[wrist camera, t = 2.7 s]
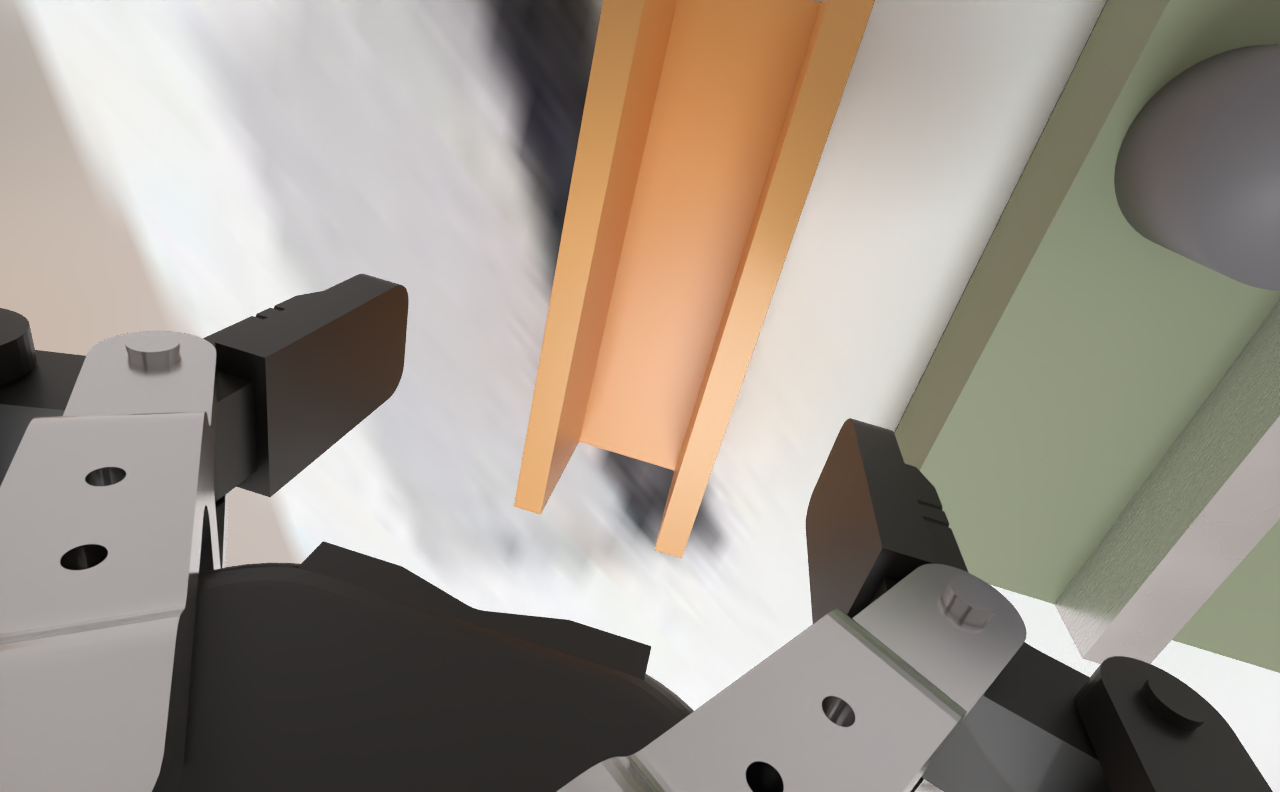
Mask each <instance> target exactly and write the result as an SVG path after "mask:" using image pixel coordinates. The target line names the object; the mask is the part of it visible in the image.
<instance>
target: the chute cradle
mask: <svg viewBox="0 0 1280 792" xmlns="http://www.w3.org/2000/svg"><path fill="white" fill-rule="evenodd" d="M1279 519H1280V299H1279V301H1278V302H1277V304H1276V305H1275V306H1274V308H1273V309H1272V310H1271V312H1270V313H1269V314H1268V316H1267V317H1266V318H1265V320H1264V321H1263V322H1262V324H1261V325H1260V327H1259V328H1258V329H1257V331H1256V332H1255V333H1254V335H1253V336H1252V337H1251V339H1250V340H1249V341H1248V343H1247V344H1246V345H1245V347H1244V348H1243V350H1242V351H1241V352H1240V354H1239V355H1238V356H1237V358H1236V359H1235V360H1234V362H1233V363H1232V364H1231V366H1230V367H1229V368H1228V370H1227V371H1226V373H1225V374H1224V375H1223V377H1222V378H1221V379H1220V381H1219V382H1218V383H1217V385H1216V386H1215V387H1214V389H1213V390H1212V391H1211V393H1210V394H1209V396H1208V397H1207V398H1206V400H1205V401H1204V402H1203V404H1202V405H1201V406H1200V408H1199V409H1198V410H1197V412H1196V413H1195V414H1194V416H1193V417H1192V418H1191V420H1190V421H1189V423H1188V424H1187V425H1186V427H1185V428H1184V429H1183V431H1182V432H1181V433H1180V435H1179V436H1178V437H1177V439H1176V440H1175V441H1174V443H1173V444H1172V446H1171V447H1170V448H1169V450H1168V451H1167V452H1166V454H1165V455H1164V456H1163V458H1162V459H1161V460H1160V462H1159V463H1158V464H1157V466H1156V467H1155V469H1154V470H1153V471H1152V473H1151V474H1150V475H1149V477H1148V478H1147V479H1146V481H1145V482H1144V483H1143V485H1142V486H1141V487H1140V489H1139V490H1138V492H1137V493H1136V494H1135V496H1134V497H1133V498H1132V500H1131V501H1130V502H1129V504H1128V505H1127V506H1126V508H1125V509H1124V510H1123V512H1122V513H1121V515H1120V516H1119V517H1118V519H1117V520H1116V521H1115V523H1114V524H1113V525H1112V527H1111V528H1110V529H1109V531H1108V532H1107V533H1106V535H1105V536H1104V537H1103V539H1102V540H1101V542H1100V543H1099V544H1098V546H1097V547H1096V548H1095V550H1094V551H1093V552H1092V554H1091V555H1090V556H1089V558H1088V559H1087V560H1086V562H1085V563H1084V565H1083V566H1082V567H1081V569H1080V570H1079V571H1078V573H1077V574H1076V575H1075V577H1074V578H1073V579H1072V581H1071V582H1070V583H1069V585H1068V586H1067V588H1066V589H1065V590H1064V592H1063V593H1062V594H1061V596H1060V597H1059V598H1058V600H1057V601H1056V602H1055V606H1056V608H1057V610H1058V612H1059V614H1060V616H1061V618H1062V620H1063V622H1064V624H1065V626H1066V627H1067V629H1068V631H1069V633H1070V635H1071V637H1072V639H1073V641H1074V643H1075V645H1076V647H1077V649H1078V651H1079V653H1080V654H1081V656H1082V658H1083V659H1086V660H1090V661H1093V662H1096V663H1099V664H1102V662H1103V661H1104V660H1106V659H1107V658H1109V657H1113V656H1124V657H1130V658H1134V659H1138V660H1141V661H1144V662H1146V663H1149V664H1151V662H1152V661H1153V660H1154V659H1155V658H1156V657H1157V656H1158V655H1159V653H1160V652H1161V651H1162V650H1163V649H1164V648H1165V647H1166V646H1167V644H1168V643H1169V642H1170V641H1171V640H1172V639H1173V638H1174V637H1175V635H1176V634H1177V633H1178V632H1179V631H1180V630H1181V629H1182V628H1183V626H1184V625H1185V624H1186V623H1187V622H1188V621H1189V620H1190V619H1191V617H1192V616H1193V615H1194V614H1195V613H1196V612H1197V611H1198V610H1199V608H1200V607H1201V606H1202V605H1203V604H1204V603H1205V602H1206V601H1207V599H1208V598H1209V597H1210V596H1211V595H1212V594H1213V593H1214V592H1215V590H1216V589H1217V588H1218V587H1219V586H1220V585H1221V584H1222V583H1223V582H1224V580H1225V579H1226V578H1227V577H1228V576H1229V575H1230V574H1231V573H1232V571H1233V570H1234V569H1235V568H1236V567H1237V566H1238V565H1239V564H1240V562H1241V561H1242V560H1243V559H1244V558H1245V557H1246V556H1247V555H1248V553H1249V552H1250V551H1251V550H1252V549H1253V548H1254V547H1255V546H1256V544H1257V543H1258V542H1259V541H1260V540H1261V539H1262V538H1263V537H1264V535H1265V534H1266V533H1267V532H1268V531H1269V530H1270V529H1271V528H1272V526H1273V525H1274V524H1275V523H1276V522H1277V521H1278V520H1279Z"/></svg>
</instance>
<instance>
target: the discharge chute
mask: <svg viewBox="0 0 1280 792" xmlns="http://www.w3.org/2000/svg"><path fill="white" fill-rule="evenodd" d="M874 2H875V0H823V1H822V2H821V3H820V2H816V1H812V0H603V5H602V10H601V16H600V22H599V27H598V33H597V39H596V44H595V50H594V56H593V61H592V67H591V73H590V78H589V84H588V90H587V95H586V101H585V107H584V112H583V118H582V124H581V129H580V135H579V141H578V146H577V152H576V158H575V163H574V169H573V175H572V180H571V186H570V192H569V197H568V203H567V209H566V214H565V220H564V226H563V231H562V237H561V243H560V248H559V254H558V260H557V265H556V271H555V277H554V282H553V288H552V294H551V299H550V305H549V311H548V316H547V322H546V328H545V333H544V339H543V345H542V350H541V356H540V362H539V367H538V373H537V379H536V384H535V390H534V396H533V401H532V407H531V413H530V418H529V424H528V430H527V435H526V441H525V447H524V452H523V458H522V464H521V469H520V475H519V481H518V486H517V492H516V498H515V503H514V507H518V508H521V509H524V510H527V511H531V512H534V513H537V514H541V513H542V511H543V509H544V507H545V505H546V503H547V501H548V499H549V497H550V496H551V494H552V492H553V490H554V488H555V486H556V484H557V482H558V480H559V479H560V477H561V475H562V473H563V471H564V469H565V467H566V465H567V463H568V462H569V460H570V458H571V456H572V454H573V452H574V450H575V448H576V446H577V444H578V443H579V442H582V443H586V444H589V445H592V446H596V447H599V448H602V449H605V450H609V451H612V452H615V453H619V454H622V455H625V456H629V457H632V458H635V459H638V460H642V461H645V462H648V463H652V464H655V465H658V466H662V467H665V468H668V469H671V470H674V474H673V478H672V482H671V486H670V490H669V494H668V498H667V502H666V506H665V510H664V514H663V518H662V522H661V526H660V530H659V534H658V538H657V541H656V545H655V549H654V550H656V551H659V552H662V553H666V554H669V555H672V556H675V557H679V558H682V555H683V553H684V550H685V547H686V544H687V541H688V538H689V535H690V532H691V530H692V527H693V524H694V521H695V518H696V515H697V512H698V509H699V506H700V504H701V501H702V498H703V495H704V492H705V489H706V486H707V483H708V480H709V478H710V475H711V472H712V469H713V466H714V463H715V460H716V457H717V455H718V452H719V449H720V446H721V443H722V440H723V437H724V434H725V431H726V429H727V426H728V423H729V420H730V417H731V414H732V411H733V408H734V406H735V403H736V400H737V397H738V394H739V391H740V388H741V385H742V382H743V380H744V377H745V374H746V371H747V368H748V365H749V362H750V359H751V356H752V354H753V351H754V348H755V345H756V342H757V339H758V336H759V333H760V331H761V328H762V325H763V322H764V319H765V316H766V313H767V310H768V307H769V305H770V302H771V299H772V296H773V293H774V290H775V287H776V284H777V282H778V279H779V276H780V273H781V270H782V267H783V264H784V261H785V258H786V256H787V253H788V250H789V247H790V244H791V241H792V238H793V235H794V232H795V230H796V227H797V224H798V221H799V218H800V215H801V212H802V209H803V207H804V204H805V201H806V198H807V195H808V192H809V189H810V186H811V183H812V181H813V178H814V175H815V172H816V169H817V166H818V163H819V160H820V157H821V155H822V152H823V149H824V146H825V143H826V140H827V137H828V134H829V132H830V129H831V126H832V123H833V120H834V117H835V114H836V111H837V108H838V106H839V103H840V100H841V97H842V94H843V91H844V88H845V85H846V83H847V80H848V77H849V74H850V71H851V68H852V65H853V62H854V59H855V57H856V54H857V51H858V48H859V45H860V42H861V39H862V36H863V33H864V31H865V28H866V25H867V22H868V19H869V16H870V13H871V10H872V8H873V5H874Z"/></svg>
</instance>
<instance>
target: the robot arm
mask: <svg viewBox="0 0 1280 792" xmlns="http://www.w3.org/2000/svg"><path fill="white" fill-rule="evenodd" d="M407 315H408V293H407V290H406V288H405V287H404V286H402V285H399V284H396V283H392V282H389V281H386V280H382V279H379V278H375V277H372V276H369V275H365V274H359V275H356V276H354V277H352V278H350V279H348V280H346V281H344V282H342V283H340V284H337V285H335V286H333V287H331V288H329V289H327V290H325V291H321V292H315V293H310V294H304V295H299V296H295V297H293V298H291V299H289V300H286V301H284V302H282V303H280V304H278V305H275V307H274V309H273V308H269V309H267V310H264V311H262V312H260V313H258V314H257V315H256V317H253V316H251V317H249V318H247V319H245V320H242V321H240V322H238V323H236V324H234V325H232V326H229V327H227V328H225V329H223V330H221V331H218V332H216V333H214V334H212V335H210V336H207V337H205V338H203V339H202V338H200V337H198V336H194V335H191V334H186V333H181V332H172V331H143V332H133V333H127V334H122V335H118V336H114V337H111V338H108V339H106V340H103V341H101V342H99V343H98V344H96V345H94V346H93V347H92V348H91V349H90V350H89V352H88V353H87V355H86V356H81V355H72V354H64V353H55V352H48V351H38V350H35V348H34V344H33V339H32V334H31V330H30V325H29V322H28V321H27V319H26V318H25V317H23V316H22V315H20V314H18V313H16V312H13V311H10V310H6V309H2V308H0V792H916V791H917V790H918V788H919V787H920V786H921V784H922V783H923V782H924V780H927V781H928V782H930V783H932V784H933V785H935V786H936V787H938V788H940V789H941V790H943V791H944V792H1273V791H1272V790H1271V788H1270V787H1269V785H1268V784H1267V782H1266V781H1265V779H1264V778H1263V776H1262V775H1261V773H1260V771H1259V770H1258V768H1257V767H1256V765H1255V764H1254V762H1253V761H1252V759H1251V758H1250V756H1249V755H1248V753H1247V751H1246V750H1245V748H1244V747H1243V745H1242V744H1241V742H1240V741H1239V739H1238V738H1237V736H1236V734H1235V733H1234V731H1233V730H1232V729H1231V727H1230V726H1229V724H1228V723H1227V722H1226V721H1225V719H1224V718H1223V717H1222V716H1221V715H1220V714H1219V713H1218V711H1217V710H1216V709H1215V708H1214V707H1212V706H1211V705H1210V704H1209V703H1208V702H1207V701H1206V700H1205V699H1204V698H1203V697H1201V696H1200V695H1199V694H1198V693H1197V692H1195V691H1194V690H1193V689H1191V688H1190V687H1189V686H1187V685H1186V684H1185V683H1183V682H1182V681H1180V680H1179V679H1177V678H1176V677H1174V676H1172V675H1171V674H1169V673H1167V672H1165V671H1164V670H1162V669H1160V668H1157V667H1155V666H1153V665H1151V664H1149V663H1146V662H1144V661H1141V660H1138V659H1134V658H1130V657H1124V656H1113V657H1109V658H1107V659H1106V660H1104V661H1103V662H1102V664H1101V665H1100V666H1099V667H1098V669H1097V670H1096V671H1095V672H1094V673H1093V675H1092V676H1091V677H1088V676H1086V675H1084V674H1082V673H1080V672H1078V671H1076V670H1074V669H1073V668H1071V667H1069V666H1067V665H1065V664H1063V663H1061V662H1059V661H1057V660H1055V659H1053V658H1052V657H1050V656H1048V655H1046V654H1044V653H1042V652H1040V651H1038V650H1037V649H1035V648H1033V647H1031V646H1030V645H1028V644H1026V643H1025V642H1024V641H1025V639H1026V628H1025V625H1024V622H1023V620H1022V618H1021V616H1020V615H1019V613H1018V611H1017V610H1016V609H1015V608H1014V606H1013V605H1012V604H1011V603H1010V602H1009V601H1008V600H1007V599H1006V598H1005V597H1004V596H1003V595H1002V594H1001V593H1000V592H998V591H997V590H996V589H995V588H993V587H992V586H990V585H989V584H988V583H986V582H984V581H983V580H981V579H980V578H978V577H976V576H974V575H972V574H970V573H969V572H968V570H967V567H966V565H965V562H964V560H963V557H962V555H961V552H960V549H959V547H958V544H957V542H956V539H955V537H954V534H953V532H952V529H951V528H949V522H948V519H947V517H946V514H945V512H944V511H942V508H943V507H942V504H941V501H940V499H939V496H938V494H937V491H936V489H935V487H934V486H933V485H932V484H931V483H930V482H929V481H928V479H927V478H926V477H925V476H924V475H923V474H922V473H921V472H920V471H919V470H918V468H917V467H915V466H911V465H908V464H905V463H904V460H903V457H902V454H901V451H900V448H899V445H898V442H897V440H896V437H895V434H894V432H893V431H891V430H888V429H885V428H881V427H878V426H874V425H871V424H868V423H864V422H861V421H858V420H854V419H851V418H850V419H848V420H847V421H846V422H845V423H844V424H843V426H842V428H841V430H840V432H839V434H838V436H837V439H836V441H835V443H834V445H833V448H832V450H831V452H830V454H829V457H828V459H827V461H826V464H825V466H824V468H823V470H822V473H821V475H820V477H819V479H818V482H817V484H816V486H815V488H814V491H813V493H812V496H811V499H810V502H809V506H808V511H807V516H806V536H807V550H808V563H809V577H810V591H811V604H812V618H813V625H811V626H810V627H809V628H807V629H806V630H804V631H803V632H802V633H800V634H799V635H798V636H796V637H795V638H794V639H792V640H791V641H789V642H788V643H787V644H785V645H784V646H783V647H781V648H780V649H778V650H777V651H776V652H774V653H773V654H772V655H770V656H769V657H768V658H766V659H765V660H763V661H762V662H761V663H759V664H758V665H757V666H755V667H754V668H753V669H751V670H750V671H748V672H747V673H746V674H744V675H743V676H742V677H740V678H739V679H737V680H736V681H735V682H733V683H732V684H731V685H729V686H728V687H727V688H725V689H724V690H722V691H721V692H720V693H718V694H717V695H716V696H714V697H713V698H712V699H710V700H709V701H707V702H706V703H705V704H703V705H702V706H701V707H699V708H698V709H697V710H695V711H693V710H692V709H691V708H690V707H689V706H688V705H687V704H686V703H685V702H684V701H683V700H681V699H680V698H679V697H678V696H677V695H676V694H674V693H673V692H672V691H670V690H669V689H668V688H666V687H665V686H664V685H662V684H661V683H659V682H658V681H656V680H655V679H653V678H652V677H650V676H648V675H647V674H645V673H646V669H647V664H648V659H649V655H650V650H651V646H648V645H645V644H642V643H639V642H636V641H633V640H630V639H627V638H623V637H620V636H617V635H614V634H611V633H608V632H605V631H602V630H598V629H595V628H592V627H589V626H586V625H583V624H580V623H577V622H573V621H570V620H564V619H554V618H545V617H536V616H526V615H517V614H508V613H498V612H489V611H482V610H477V609H474V608H472V607H470V606H468V605H466V604H464V603H463V602H461V601H459V600H458V599H456V598H454V597H452V596H451V595H449V594H447V593H446V592H444V591H442V590H441V589H439V588H437V587H436V586H434V585H432V584H430V583H429V582H427V581H425V580H424V579H422V578H420V577H419V576H417V575H415V574H414V573H412V572H410V571H408V570H407V569H405V568H403V567H402V566H398V565H395V564H392V563H389V562H386V561H383V560H380V559H377V558H373V557H370V556H367V555H364V554H361V553H358V552H355V551H352V550H348V549H345V548H342V547H339V546H336V545H333V544H330V543H327V542H322V543H321V544H320V545H319V546H318V547H317V548H316V549H315V550H314V551H313V552H312V553H311V554H310V555H309V557H308V558H307V559H306V560H305V561H304V562H303V563H302V564H295V563H260V564H246V565H239V566H232V567H226V548H227V547H226V545H227V521H228V506H227V493H228V492H229V491H231V490H232V489H233V488H235V487H240V488H243V489H246V490H249V491H252V492H255V493H258V494H262V495H265V496H268V497H271V496H272V495H273V494H275V493H276V492H277V491H278V490H279V489H281V488H282V487H283V486H284V485H285V484H287V483H288V482H289V481H290V480H291V479H293V478H294V477H295V476H296V475H297V474H299V473H300V472H301V471H302V470H303V469H305V468H306V467H307V466H308V465H309V464H311V463H312V462H313V461H314V460H315V459H317V458H318V457H319V456H320V455H321V454H323V453H324V452H325V451H326V450H327V449H329V448H330V447H331V446H332V445H333V444H335V443H336V442H337V441H338V440H339V439H341V438H342V437H343V436H344V435H346V434H347V433H348V432H349V431H350V430H352V429H353V428H354V427H355V426H356V425H358V424H359V423H360V422H361V421H362V420H364V419H365V418H366V417H367V416H368V415H370V414H371V413H372V412H373V411H374V410H376V409H377V408H378V407H379V406H380V405H382V404H383V403H384V402H385V401H386V400H388V399H389V398H390V397H391V396H392V394H393V393H394V392H395V390H396V388H397V386H398V384H399V382H400V379H401V376H402V373H403V367H404V355H405V342H406V328H407Z"/></svg>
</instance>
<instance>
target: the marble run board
mask: <svg viewBox="0 0 1280 792" xmlns="http://www.w3.org/2000/svg"><path fill="white" fill-rule="evenodd" d="M1279 299H1280V0H1108V1H1107V3H1106V5H1105V7H1104V9H1103V11H1102V13H1101V15H1100V17H1099V19H1098V21H1097V23H1096V25H1095V27H1094V29H1093V31H1092V33H1091V35H1090V37H1089V39H1088V41H1087V43H1086V45H1085V47H1084V49H1083V51H1082V53H1081V55H1080V58H1079V60H1078V62H1077V64H1076V66H1075V68H1074V70H1073V72H1072V74H1071V76H1070V78H1069V80H1068V82H1067V84H1066V86H1065V88H1064V90H1063V92H1062V94H1061V96H1060V98H1059V100H1058V102H1057V104H1056V106H1055V108H1054V110H1053V112H1052V114H1051V116H1050V118H1049V120H1048V122H1047V124H1046V127H1045V129H1044V131H1043V133H1042V135H1041V137H1040V139H1039V141H1038V143H1037V145H1036V147H1035V149H1034V151H1033V153H1032V155H1031V157H1030V159H1029V161H1028V163H1027V165H1026V167H1025V169H1024V171H1023V173H1022V175H1021V177H1020V179H1019V181H1018V183H1017V185H1016V187H1015V189H1014V191H1013V193H1012V196H1011V198H1010V200H1009V202H1008V204H1007V206H1006V208H1005V210H1004V212H1003V214H1002V216H1001V218H1000V220H999V222H998V224H997V226H996V228H995V230H994V232H993V234H992V236H991V238H990V240H989V242H988V244H987V246H986V248H985V250H984V252H983V254H982V256H981V258H980V260H979V262H978V264H977V267H976V269H975V271H974V273H973V275H972V277H971V279H970V281H969V283H968V285H967V287H966V289H965V291H964V293H963V295H962V297H961V299H960V301H959V303H958V305H957V307H956V309H955V311H954V313H953V315H952V317H951V319H950V321H949V323H948V325H947V327H946V329H945V331H944V333H943V336H942V338H941V340H940V342H939V344H938V346H937V348H936V350H935V352H934V354H933V356H932V358H931V360H930V362H929V364H928V366H927V368H926V370H925V372H924V374H923V376H922V378H921V380H920V382H919V384H918V386H917V388H916V390H915V392H914V394H913V396H912V398H911V400H910V402H909V404H908V407H907V409H906V411H905V413H904V415H903V417H902V419H901V421H900V423H899V425H898V427H897V429H896V431H895V433H894V434H895V437H896V440H897V442H898V445H899V448H900V451H901V454H902V457H903V460H904V463H905V464H908V465H911V466H915V467H917V468H918V470H919V471H920V472H921V473H922V474H923V475H924V476H925V477H926V478H927V479H928V481H929V482H930V483H931V484H932V485H933V486H934V487H935V489H936V491H937V494H938V496H939V499H940V501H941V504H942V507H943V508H942V511H944V512H945V514H946V517H947V519H948V522H949V528H951V529H952V532H953V534H954V537H955V539H956V542H957V544H958V547H959V549H960V552H961V555H962V557H963V560H964V562H965V565H966V567H967V570H968V572H969V573H970V574H972V575H974V576H976V577H978V578H980V579H981V580H983V581H984V582H986V583H988V584H990V585H994V586H997V587H1000V588H1004V589H1007V590H1010V591H1013V592H1017V593H1020V594H1023V595H1027V596H1030V597H1033V598H1036V599H1040V600H1043V601H1046V602H1049V603H1053V604H1055V602H1056V601H1057V600H1058V598H1059V597H1060V596H1061V594H1062V593H1063V592H1064V590H1065V589H1066V588H1067V586H1068V585H1069V583H1070V582H1071V581H1072V579H1073V578H1074V577H1075V575H1076V574H1077V573H1078V571H1079V570H1080V569H1081V567H1082V566H1083V565H1084V563H1085V562H1086V560H1087V559H1088V558H1089V556H1090V555H1091V554H1092V552H1093V551H1094V550H1095V548H1096V547H1097V546H1098V544H1099V543H1100V542H1101V540H1102V539H1103V537H1104V536H1105V535H1106V533H1107V532H1108V531H1109V529H1110V528H1111V527H1112V525H1113V524H1114V523H1115V521H1116V520H1117V519H1118V517H1119V516H1120V515H1121V513H1122V512H1123V510H1124V509H1125V508H1126V506H1127V505H1128V504H1129V502H1130V501H1131V500H1132V498H1133V497H1134V496H1135V494H1136V493H1137V492H1138V490H1139V489H1140V487H1141V486H1142V485H1143V483H1144V482H1145V481H1146V479H1147V478H1148V477H1149V475H1150V474H1151V473H1152V471H1153V470H1154V469H1155V467H1156V466H1157V464H1158V463H1159V462H1160V460H1161V459H1162V458H1163V456H1164V455H1165V454H1166V452H1167V451H1168V450H1169V448H1170V447H1171V446H1172V444H1173V443H1174V441H1175V440H1176V439H1177V437H1178V436H1179V435H1180V433H1181V432H1182V431H1183V429H1184V428H1185V427H1186V425H1187V424H1188V423H1189V421H1190V420H1191V418H1192V417H1193V416H1194V414H1195V413H1196V412H1197V410H1198V409H1199V408H1200V406H1201V405H1202V404H1203V402H1204V401H1205V400H1206V398H1207V397H1208V396H1209V394H1210V393H1211V391H1212V390H1213V389H1214V387H1215V386H1216V385H1217V383H1218V382H1219V381H1220V379H1221V378H1222V377H1223V375H1224V374H1225V373H1226V371H1227V370H1228V368H1229V367H1230V366H1231V364H1232V363H1233V362H1234V360H1235V359H1236V358H1237V356H1238V355H1239V354H1240V352H1241V351H1242V350H1243V348H1244V347H1245V345H1246V344H1247V343H1248V341H1249V340H1250V339H1251V337H1252V336H1253V335H1254V333H1255V332H1256V331H1257V329H1258V328H1259V327H1260V325H1261V324H1262V322H1263V321H1264V320H1265V318H1266V317H1267V316H1268V314H1269V313H1270V312H1271V310H1272V309H1273V308H1274V306H1275V305H1276V304H1277V302H1278V301H1279ZM1172 640H1174V641H1177V642H1181V643H1184V644H1187V645H1191V646H1194V647H1197V648H1200V649H1204V650H1207V651H1210V652H1214V653H1217V654H1220V655H1223V656H1227V657H1230V658H1233V659H1236V660H1240V661H1243V662H1246V663H1250V664H1253V665H1256V666H1259V667H1263V668H1266V669H1269V670H1273V671H1276V672H1279V673H1280V519H1279V520H1278V521H1277V522H1276V523H1275V524H1274V525H1273V526H1272V528H1271V529H1270V530H1269V531H1268V532H1267V533H1266V534H1265V535H1264V537H1263V538H1262V539H1261V540H1260V541H1259V542H1258V543H1257V544H1256V546H1255V547H1254V548H1253V549H1252V550H1251V551H1250V552H1249V553H1248V555H1247V556H1246V557H1245V558H1244V559H1243V560H1242V561H1241V562H1240V564H1239V565H1238V566H1237V567H1236V568H1235V569H1234V570H1233V571H1232V573H1231V574H1230V575H1229V576H1228V577H1227V578H1226V579H1225V580H1224V582H1223V583H1222V584H1221V585H1220V586H1219V587H1218V588H1217V589H1216V590H1215V592H1214V593H1213V594H1212V595H1211V596H1210V597H1209V598H1208V599H1207V601H1206V602H1205V603H1204V604H1203V605H1202V606H1201V607H1200V608H1199V610H1198V611H1197V612H1196V613H1195V614H1194V615H1193V616H1192V617H1191V619H1190V620H1189V621H1188V622H1187V623H1186V624H1185V625H1184V626H1183V628H1182V629H1181V630H1180V631H1179V632H1178V633H1177V634H1176V635H1175V637H1174V638H1173V639H1172Z"/></svg>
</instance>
